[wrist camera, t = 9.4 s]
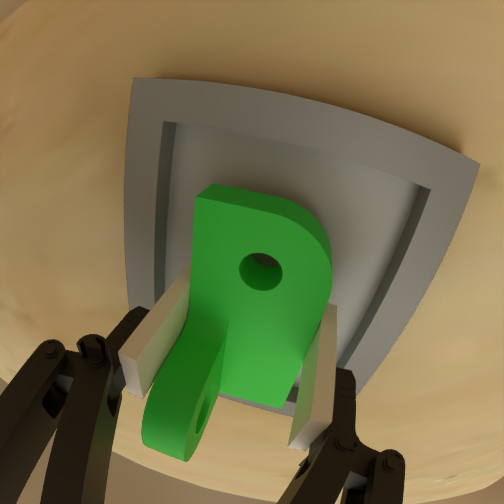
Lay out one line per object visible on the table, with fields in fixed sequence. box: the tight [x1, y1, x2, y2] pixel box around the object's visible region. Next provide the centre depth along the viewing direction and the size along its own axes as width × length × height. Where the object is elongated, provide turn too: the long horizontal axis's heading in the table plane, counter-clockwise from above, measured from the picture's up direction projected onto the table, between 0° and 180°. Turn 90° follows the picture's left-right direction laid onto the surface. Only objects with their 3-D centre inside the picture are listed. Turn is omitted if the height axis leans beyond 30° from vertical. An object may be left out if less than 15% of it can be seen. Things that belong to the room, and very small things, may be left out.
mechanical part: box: [141, 183, 332, 462], centre depth 12 cm, size 12×6×8 cm, turn 171°
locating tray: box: [124, 78, 480, 417], centre depth 16 cm, size 16×20×2 cm
